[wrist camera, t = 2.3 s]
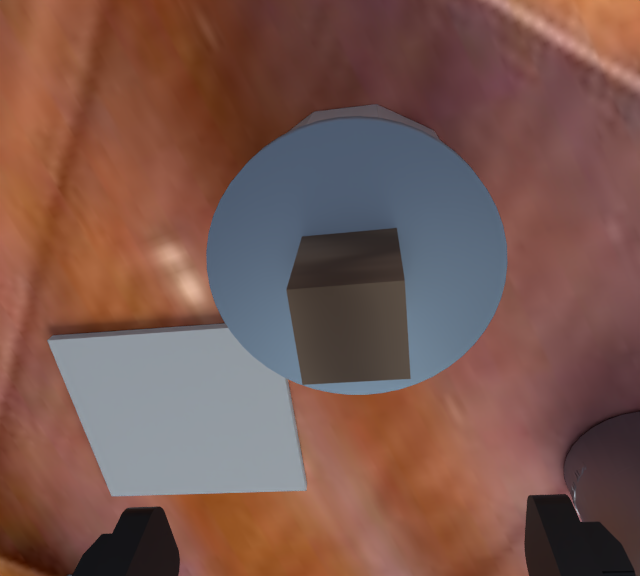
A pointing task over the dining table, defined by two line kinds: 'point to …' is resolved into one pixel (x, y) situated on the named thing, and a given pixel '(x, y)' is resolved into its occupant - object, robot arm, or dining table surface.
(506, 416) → the dining table surface
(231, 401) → the mat
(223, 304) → the lid
